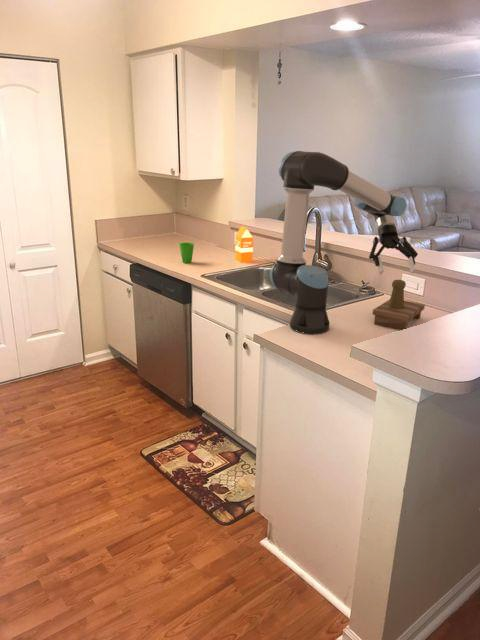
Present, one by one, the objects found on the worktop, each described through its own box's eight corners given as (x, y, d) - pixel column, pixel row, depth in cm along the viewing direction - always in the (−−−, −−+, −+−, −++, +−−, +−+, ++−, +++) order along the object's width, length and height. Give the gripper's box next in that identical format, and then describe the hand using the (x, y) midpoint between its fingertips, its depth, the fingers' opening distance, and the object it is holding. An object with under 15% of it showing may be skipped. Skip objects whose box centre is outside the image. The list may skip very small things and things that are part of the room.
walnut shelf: (406, 331, 197) (408, 316, 195) (371, 323, 204) (373, 309, 202) (422, 318, 212) (424, 304, 210) (390, 311, 220) (391, 298, 218)
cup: (192, 264, 295) (192, 245, 292) (177, 263, 297) (176, 244, 293) (196, 261, 304) (196, 242, 300) (181, 260, 305) (181, 242, 302)
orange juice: (246, 258, 312) (247, 225, 306) (252, 261, 305) (253, 227, 298) (235, 259, 310) (235, 226, 303) (240, 262, 302) (241, 228, 295)
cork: (401, 304, 209) (404, 278, 205) (406, 309, 203) (409, 282, 200) (386, 304, 209) (389, 278, 205) (390, 309, 203) (394, 282, 200)
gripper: (410, 233, 222) (422, 276, 213) (355, 234, 219) (364, 277, 210) (418, 223, 215) (430, 266, 206) (361, 223, 212) (371, 267, 203)
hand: (397, 272), depth 208 cm, fingers open, 13 cm apart
